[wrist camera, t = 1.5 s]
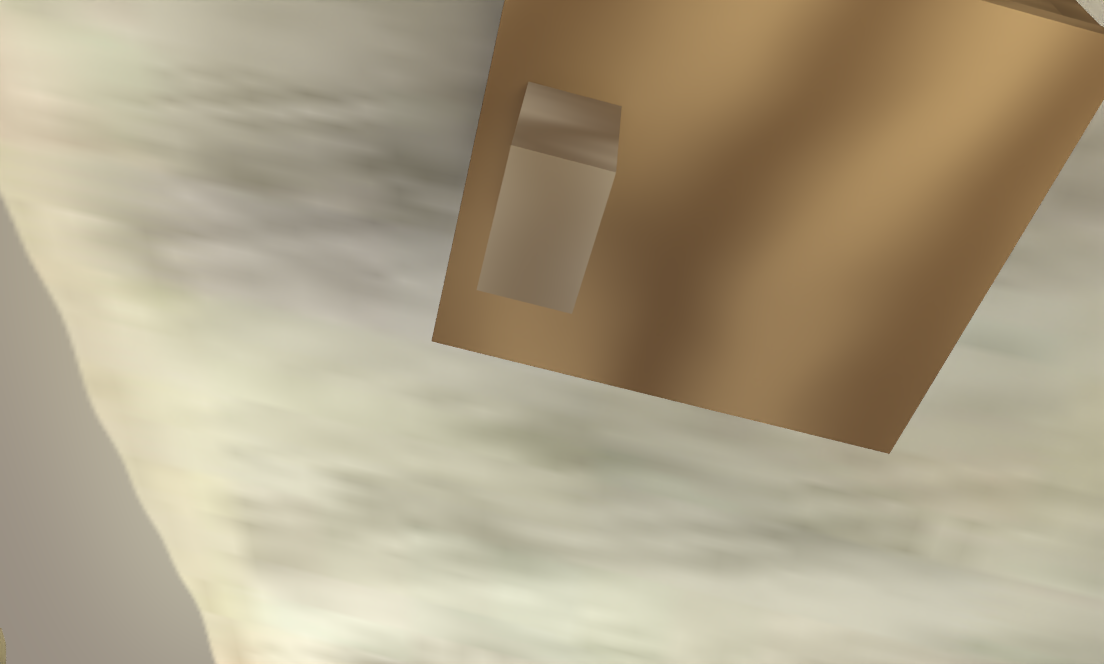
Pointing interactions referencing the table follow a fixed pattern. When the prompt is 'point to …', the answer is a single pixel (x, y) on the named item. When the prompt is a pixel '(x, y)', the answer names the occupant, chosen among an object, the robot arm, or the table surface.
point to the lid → (759, 194)
